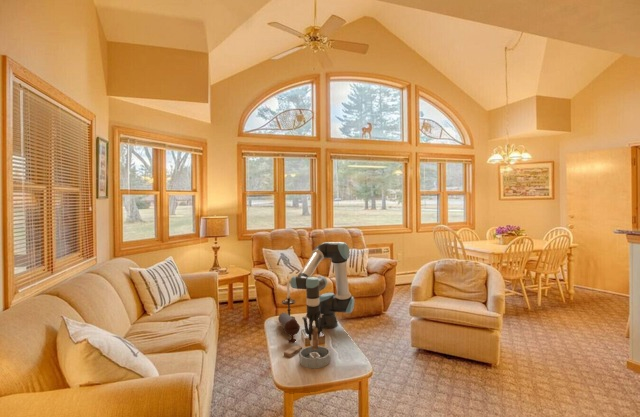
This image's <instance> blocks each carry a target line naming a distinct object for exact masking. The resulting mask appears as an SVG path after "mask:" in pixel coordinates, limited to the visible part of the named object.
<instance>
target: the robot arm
mask: <svg viewBox="0 0 640 417" xmlns="http://www.w3.org/2000/svg"><path fill="white" fill-rule="evenodd" d="M350 252H351V251H350V247H349V245H348V244H347V243H346V242H342V241H325V242H321V243H319V244H317V245H316V247H314V248H313V249H312V251H311V252H310V256H309V257H308V260H307V261H306V262H305V264H304V266H303V267H302V269H301V270H300V271H299V273H298V274H297V275H294V276H292V277H291V278H290V280H289V285H290V287H291V289H297V290H305V291H306V314H305V316H302V317H301V318H302V320H303V324H304V333H305V334H307V335H308V340H309V343H310V346H313V335H312V326H313V323H314V324H315V325H314V326H316V327H317V328H318V340H319V339H320V337H321V336H320V334H321V332H322V333H323V330H324V329H333V328H335V327H338V324H339V323H338V319H337V317H336V313H342V314H343V313H344V314H351V313H352V312H353V311H354V308H355V297H354V296H352V293H351V292H350V291H349V290H350V288H349V281H348V271H347V262H348V259H350ZM325 259H330V262H331V263H332V264H333V270H334V278H335V287H336V294H335V293H334V292H326V293H322V294H320V291H322V290H324V289H326V287H327V285H328V280H327V278H326V277H325V276H318V277H316V276H312V275H313V274H314V272H315V271H316V269H317V267H318V266H319V264H320V262H322V261H323V260H325Z"/></svg>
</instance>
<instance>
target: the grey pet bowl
mask: <svg viewBox="0 0 640 417" xmlns="http://www.w3.org/2000/svg"><path fill="white" fill-rule="evenodd" d="M298 353H299V354H298V355H299V357H298V358H299V364H300V365H301V366H302V367H304V368H307V369H319V368H320V369H321V368H323V367H327V365H329V364H330V363H331V350H330V349H329V348H328V347H326V346H322V345H318V349H315V350H314V349H313V348H312V347H311V345H310V346H306V347H304V348H302V350H300V352H298Z"/></svg>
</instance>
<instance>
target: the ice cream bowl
mask: <svg viewBox="0 0 640 417" xmlns="http://www.w3.org/2000/svg"><path fill="white" fill-rule="evenodd" d="M300 329H301V326H300V324H299V323H298V321H297V320H296V318H295V319H291V320H290V321H287V322H286V324H285V326H284V328H283V330H284V332H285V333H286V334H287V335H288V336H290V338H289V339H288V341H289V342H288V343H290V342H293V343H296V342H297V341H296V340H297V338H294V336H295V335H297V334H298V333H299V331H300ZM295 341H296V342H295Z"/></svg>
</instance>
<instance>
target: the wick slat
mask: <svg viewBox="0 0 640 417" xmlns="http://www.w3.org/2000/svg"><path fill="white" fill-rule="evenodd" d="M312 335H313V346H311V345H310V346H311V347H312V348H313V349H314V350H315V349H318V346H319V339H318V328H317V327H316V326H315V325H312Z"/></svg>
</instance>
